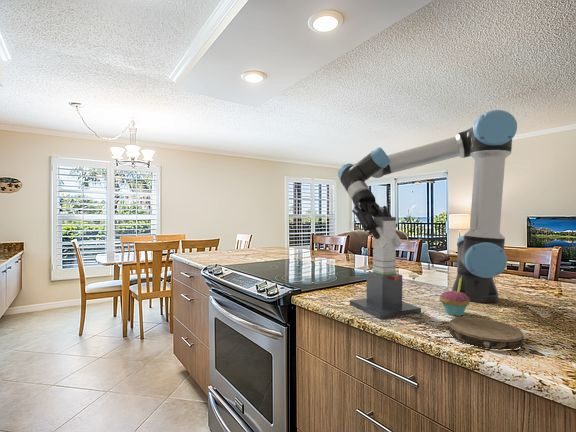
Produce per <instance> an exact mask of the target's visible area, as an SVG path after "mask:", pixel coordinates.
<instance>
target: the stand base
mask: <svg viewBox="0 0 576 432" xmlns="http://www.w3.org/2000/svg"><path fill="white" fill-rule="evenodd" d="M349 306H352V307H354V308H356V309H357V310H361V311H362V312H365V313H366V314H367V315H368V314H369V315H371V316H373V317H374V318H377V319H379V318H380V319H379V320H381V319H382V318H383V319H387V318H389V317H390V318H394V317H403V316H408V315H414V314H420V313H422V308H421V307H420V306H417V305H414V304H411V303H408V302H405V301H403V274H400V273H396V275H388V276H381V275H378V274H374V273H373V271H370V272H366V298H360V299H357V298H356V299H351V300H349Z"/></svg>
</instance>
